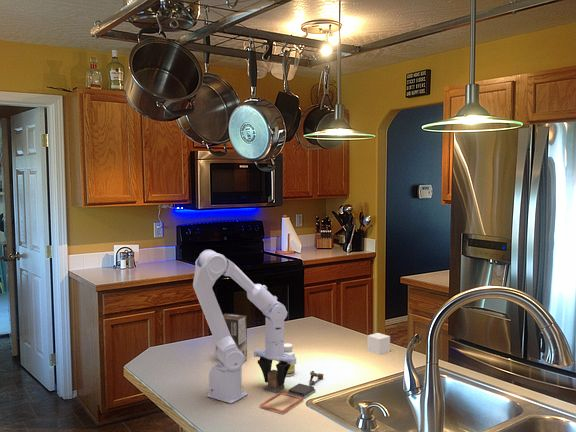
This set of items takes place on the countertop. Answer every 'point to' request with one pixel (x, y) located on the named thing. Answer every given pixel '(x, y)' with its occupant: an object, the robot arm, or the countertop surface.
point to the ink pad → (301, 391)
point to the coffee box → (238, 331)
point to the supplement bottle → (289, 351)
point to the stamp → (273, 382)
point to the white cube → (378, 343)
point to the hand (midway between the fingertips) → (274, 383)
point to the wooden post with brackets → (320, 376)
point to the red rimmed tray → (281, 403)
